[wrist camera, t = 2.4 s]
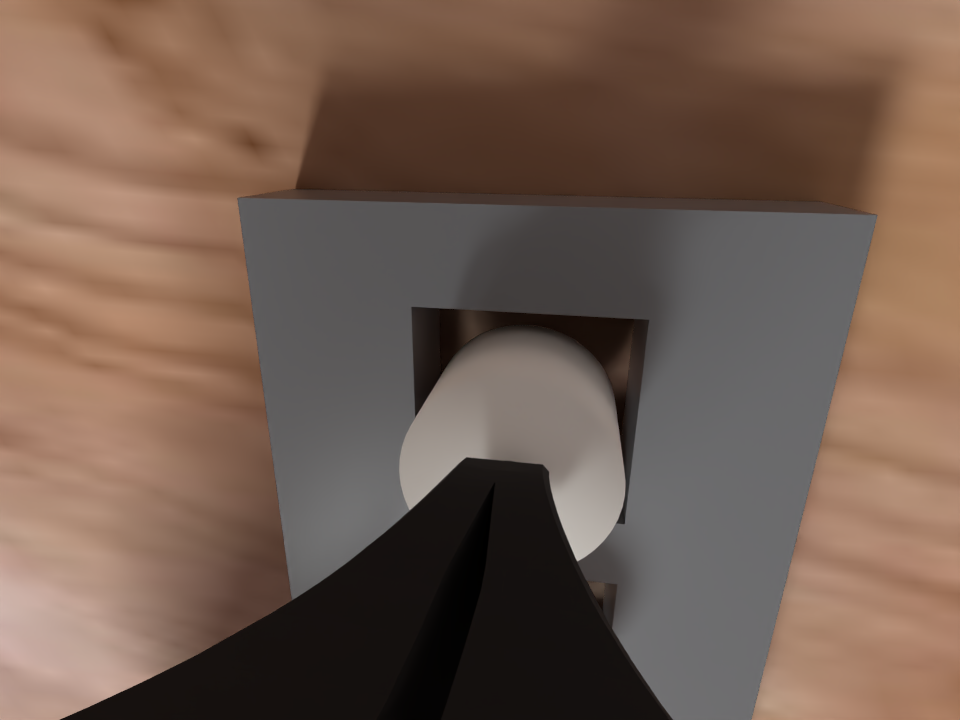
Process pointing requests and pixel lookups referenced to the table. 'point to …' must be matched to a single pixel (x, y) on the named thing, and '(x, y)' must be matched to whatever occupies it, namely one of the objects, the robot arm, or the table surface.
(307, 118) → the table surface
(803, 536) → the table surface
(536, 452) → the button one dot
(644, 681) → the robot arm
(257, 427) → the table surface
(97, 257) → the table surface
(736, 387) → the button board
